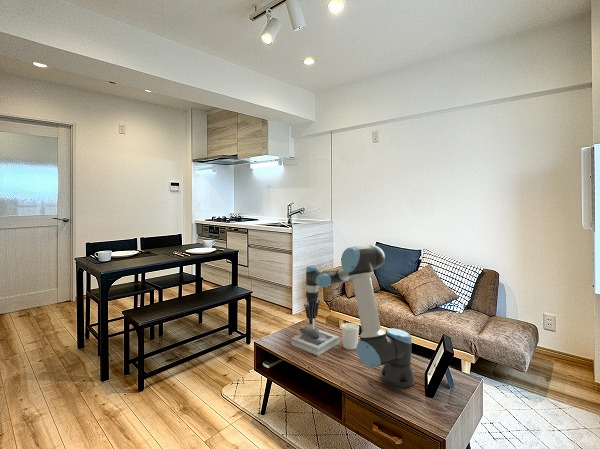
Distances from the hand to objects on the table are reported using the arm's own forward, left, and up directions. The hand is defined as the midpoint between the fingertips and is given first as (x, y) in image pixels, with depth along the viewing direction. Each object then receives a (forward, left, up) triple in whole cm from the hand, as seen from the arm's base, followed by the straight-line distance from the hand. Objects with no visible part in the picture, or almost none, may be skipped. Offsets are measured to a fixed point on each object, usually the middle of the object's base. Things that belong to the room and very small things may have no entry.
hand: (312, 328), depth 196 cm
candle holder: (-25, -5, -6) cm, 26 cm away
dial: (-5, +6, -3) cm, 9 cm away
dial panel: (-8, +6, -5) cm, 11 cm away
